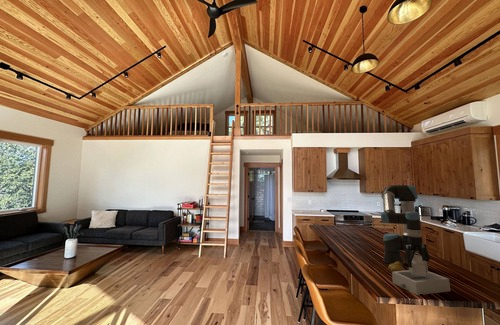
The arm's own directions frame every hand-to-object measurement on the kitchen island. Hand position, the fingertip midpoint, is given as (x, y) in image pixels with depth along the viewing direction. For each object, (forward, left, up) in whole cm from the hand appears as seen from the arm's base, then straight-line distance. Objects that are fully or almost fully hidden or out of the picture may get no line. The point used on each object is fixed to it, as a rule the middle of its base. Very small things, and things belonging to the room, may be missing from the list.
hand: (418, 272), depth 136 cm
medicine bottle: (0, 0, -1) cm, 1 cm away
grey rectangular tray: (0, 0, -9) cm, 9 cm away
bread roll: (-20, +3, -9) cm, 22 cm away
